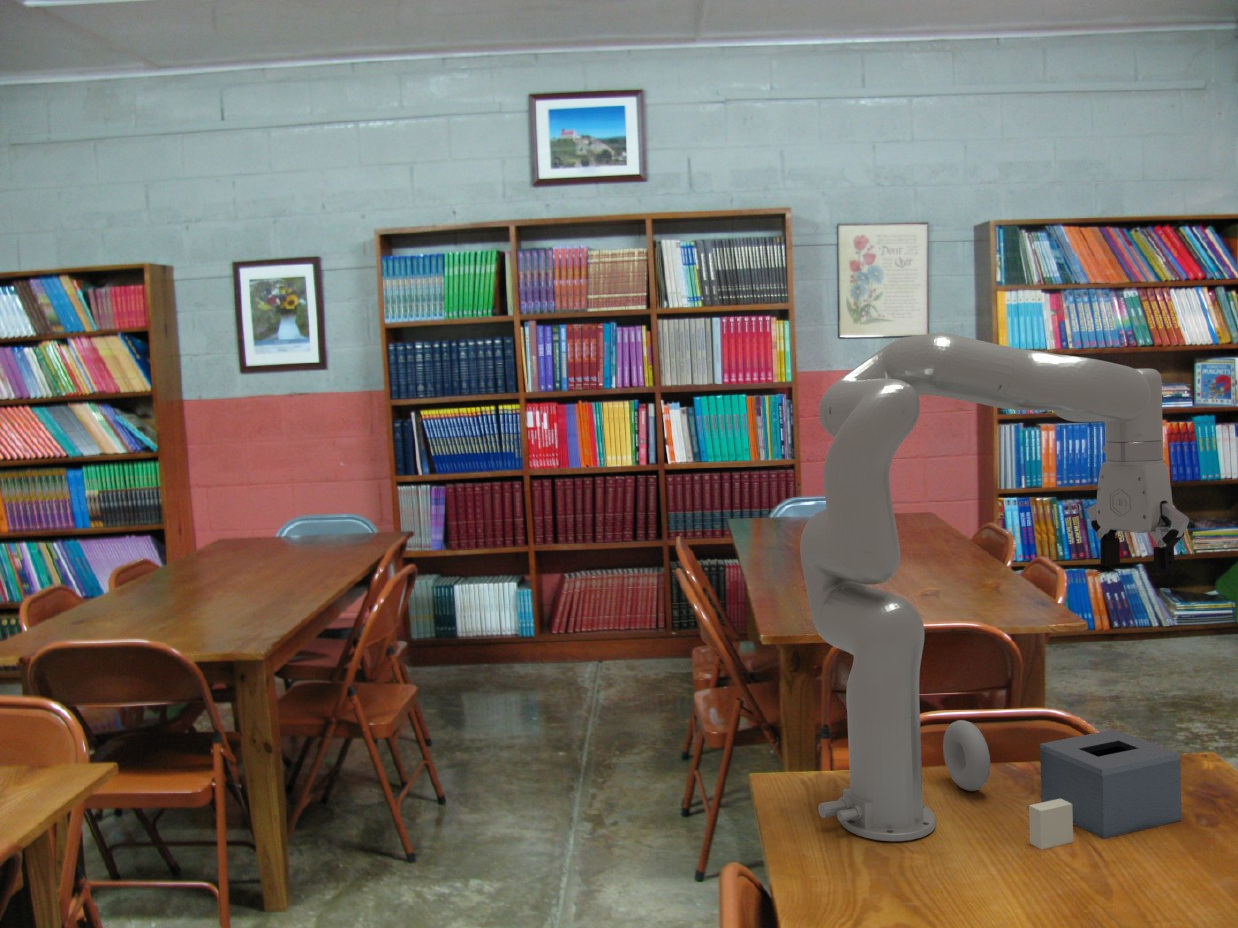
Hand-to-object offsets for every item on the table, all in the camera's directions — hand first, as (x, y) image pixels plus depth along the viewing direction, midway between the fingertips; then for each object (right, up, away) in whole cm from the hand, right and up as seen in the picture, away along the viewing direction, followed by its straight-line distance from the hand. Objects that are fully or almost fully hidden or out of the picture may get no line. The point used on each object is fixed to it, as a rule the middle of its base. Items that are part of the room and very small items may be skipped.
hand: (1136, 569), depth 149 cm
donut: (-25, -32, -2) cm, 41 cm away
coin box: (-10, -32, -13) cm, 36 cm away
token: (-21, -33, -20) cm, 44 cm away
